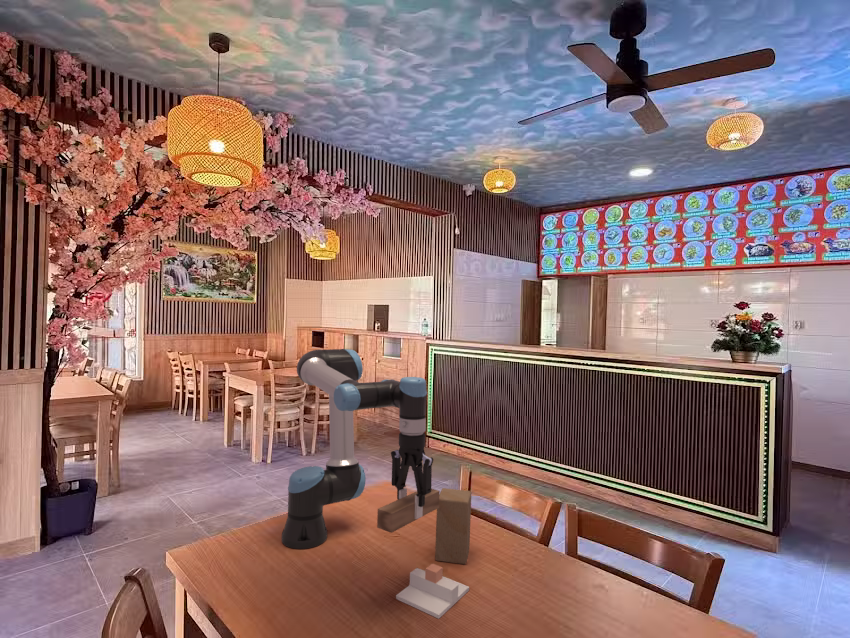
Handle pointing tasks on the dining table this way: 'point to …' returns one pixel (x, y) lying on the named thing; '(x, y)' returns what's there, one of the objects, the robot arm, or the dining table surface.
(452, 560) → the wooden block
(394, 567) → the dining table surface
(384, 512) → the beam
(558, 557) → the dining table surface
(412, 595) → the stand
